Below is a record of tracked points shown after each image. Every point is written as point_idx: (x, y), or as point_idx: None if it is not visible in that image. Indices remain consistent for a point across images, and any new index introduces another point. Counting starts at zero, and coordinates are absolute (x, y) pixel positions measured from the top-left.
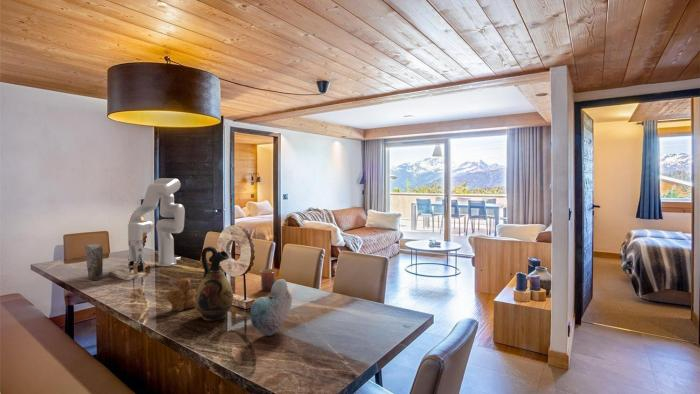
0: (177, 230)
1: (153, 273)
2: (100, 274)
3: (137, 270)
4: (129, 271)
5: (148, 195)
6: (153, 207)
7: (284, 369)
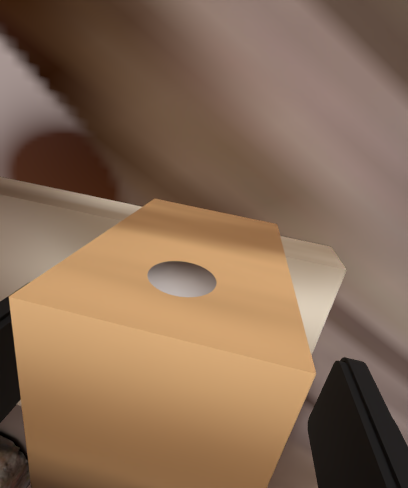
0: None
1: (298, 46)
2: None
3: (319, 456)
4: (5, 280)
5: None
6: None
7: None
